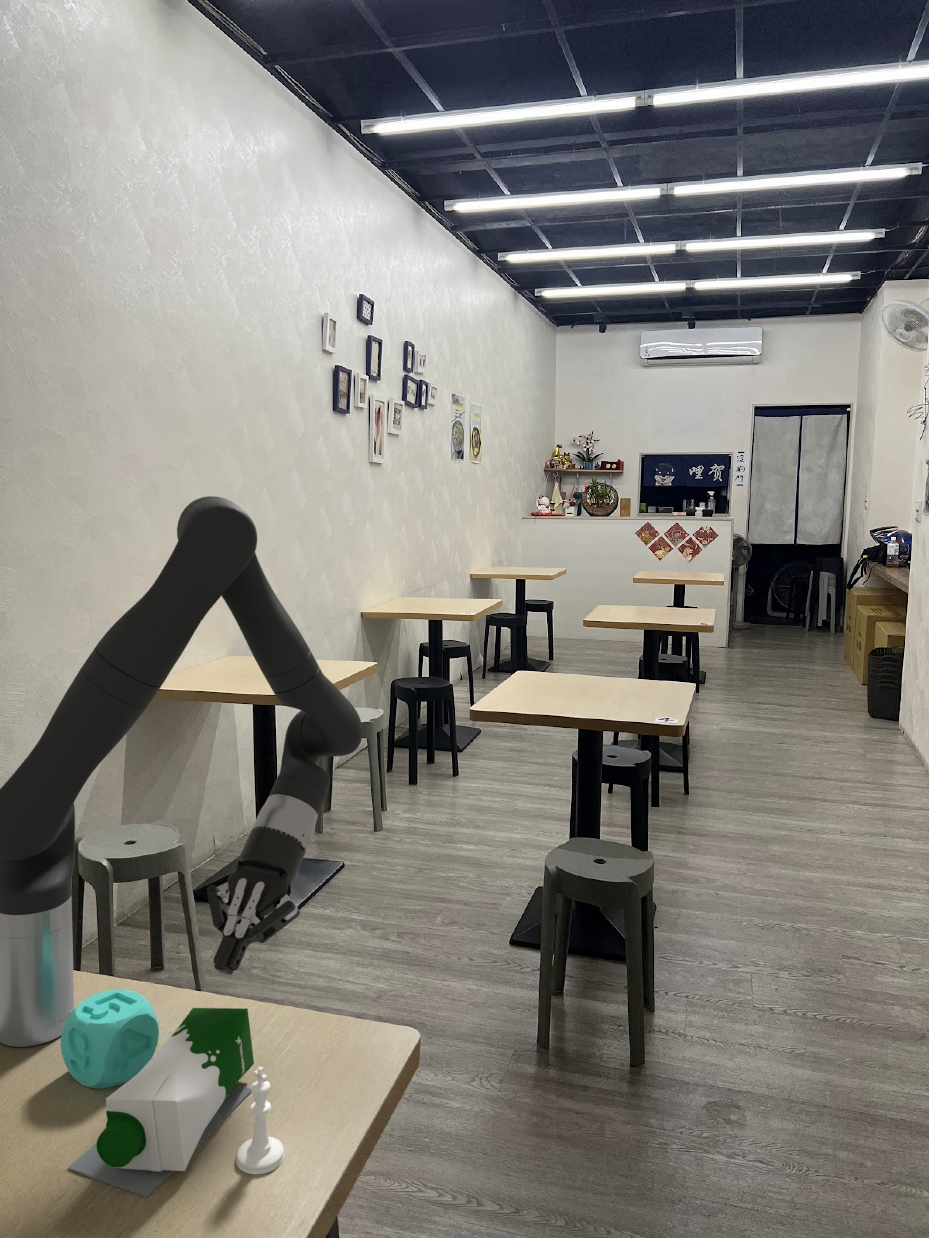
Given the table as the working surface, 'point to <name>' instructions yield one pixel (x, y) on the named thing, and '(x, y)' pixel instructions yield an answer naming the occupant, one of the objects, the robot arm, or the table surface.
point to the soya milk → (177, 1092)
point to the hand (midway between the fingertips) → (222, 971)
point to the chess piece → (260, 1134)
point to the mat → (147, 1179)
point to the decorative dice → (109, 1038)
